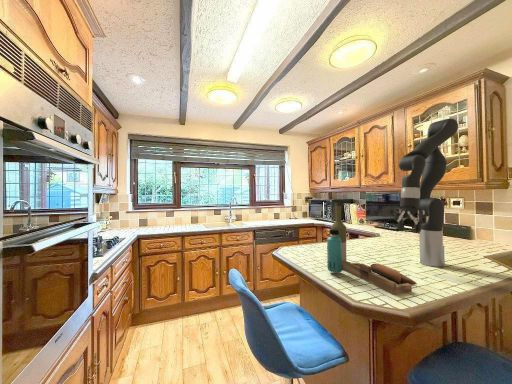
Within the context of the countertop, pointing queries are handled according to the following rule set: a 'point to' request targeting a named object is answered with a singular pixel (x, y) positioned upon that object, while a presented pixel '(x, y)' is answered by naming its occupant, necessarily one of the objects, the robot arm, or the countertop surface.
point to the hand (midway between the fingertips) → (408, 231)
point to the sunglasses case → (392, 274)
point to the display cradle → (375, 278)
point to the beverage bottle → (334, 252)
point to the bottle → (340, 231)
